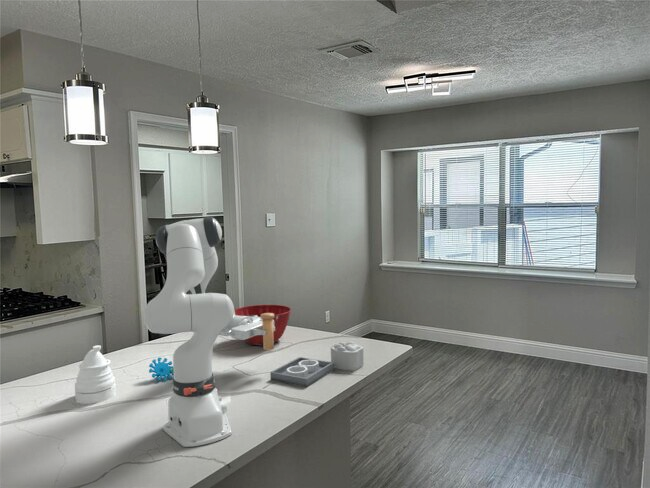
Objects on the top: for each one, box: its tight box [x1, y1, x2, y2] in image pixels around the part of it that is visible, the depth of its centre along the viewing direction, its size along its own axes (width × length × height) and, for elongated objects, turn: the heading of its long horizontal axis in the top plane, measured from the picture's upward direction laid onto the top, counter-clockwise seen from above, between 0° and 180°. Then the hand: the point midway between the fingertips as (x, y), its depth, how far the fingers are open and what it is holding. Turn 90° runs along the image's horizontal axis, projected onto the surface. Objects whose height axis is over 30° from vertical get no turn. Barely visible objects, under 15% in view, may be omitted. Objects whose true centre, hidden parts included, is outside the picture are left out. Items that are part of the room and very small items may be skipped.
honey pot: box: [74, 344, 117, 405], centre depth 167 cm, size 13×13×18 cm
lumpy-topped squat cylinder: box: [330, 341, 365, 371], centre depth 193 cm, size 10×13×9 cm
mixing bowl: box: [235, 304, 292, 346], centre depth 230 cm, size 28×28×16 cm
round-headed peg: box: [261, 313, 275, 351], centre depth 185 cm, size 5×5×13 cm
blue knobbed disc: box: [148, 357, 174, 382], centre depth 184 cm, size 11×6×10 cm
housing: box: [269, 356, 335, 388], centre depth 183 cm, size 16×20×4 cm
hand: (269, 330), depth 184 cm, fingers closed on round-headed peg, 4 cm apart
